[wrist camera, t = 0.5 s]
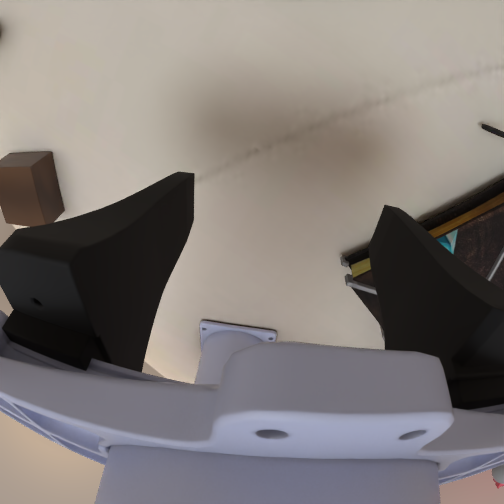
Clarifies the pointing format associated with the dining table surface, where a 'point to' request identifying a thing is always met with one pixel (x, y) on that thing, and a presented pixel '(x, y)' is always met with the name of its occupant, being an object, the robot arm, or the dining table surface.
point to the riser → (29, 189)
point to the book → (449, 244)
